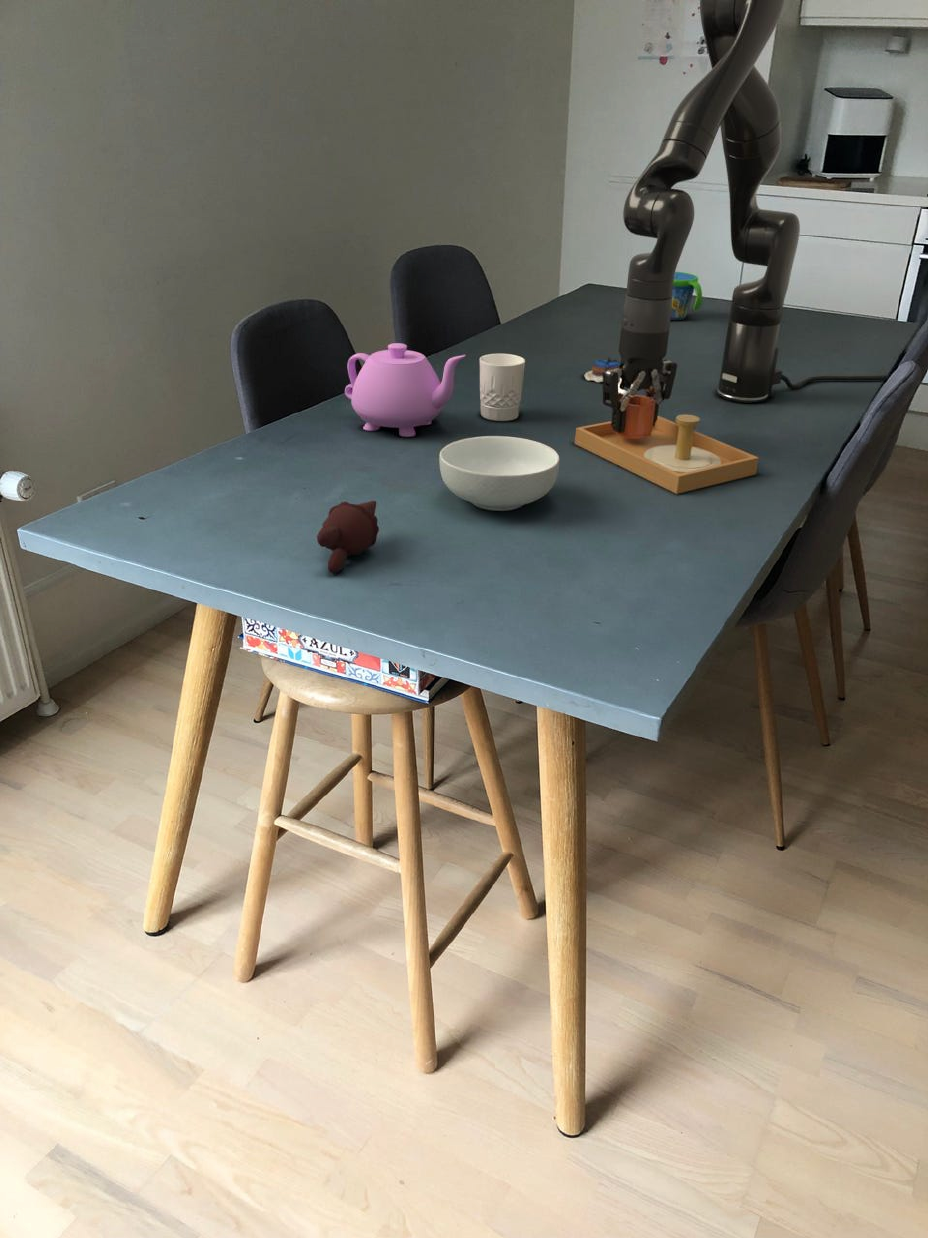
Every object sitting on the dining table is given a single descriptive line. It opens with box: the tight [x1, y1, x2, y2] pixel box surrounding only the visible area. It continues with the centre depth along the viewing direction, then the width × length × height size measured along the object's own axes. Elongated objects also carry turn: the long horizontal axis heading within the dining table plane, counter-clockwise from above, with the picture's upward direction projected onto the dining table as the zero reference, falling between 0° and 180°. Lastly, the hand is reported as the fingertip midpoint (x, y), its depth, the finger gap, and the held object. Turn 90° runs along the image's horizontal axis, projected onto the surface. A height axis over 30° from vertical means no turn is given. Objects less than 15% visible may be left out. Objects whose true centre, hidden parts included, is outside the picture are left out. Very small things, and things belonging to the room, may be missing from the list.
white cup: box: [479, 353, 526, 422], centre depth 176 cm, size 8×8×10 cm
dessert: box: [584, 356, 620, 383], centre depth 200 cm, size 8×7×6 cm
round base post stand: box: [644, 413, 721, 474], centre depth 156 cm, size 12×12×7 cm
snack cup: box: [671, 271, 703, 321], centre depth 246 cm, size 16×10×10 cm
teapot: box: [344, 342, 466, 438], centre depth 168 cm, size 22×16×14 cm
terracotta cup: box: [615, 394, 656, 439], centre depth 164 cm, size 6×6×6 cm
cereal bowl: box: [438, 435, 561, 512], centre depth 143 cm, size 17×17×7 cm
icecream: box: [316, 500, 380, 574], centre depth 127 cm, size 7×7×15 cm
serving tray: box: [574, 415, 759, 495], centre depth 161 cm, size 17×25×3 cm
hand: (633, 427), depth 165 cm, fingers closed on terracotta cup, 6 cm apart
